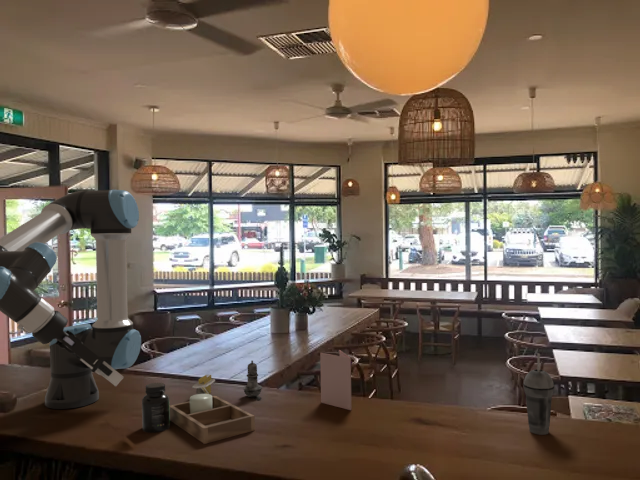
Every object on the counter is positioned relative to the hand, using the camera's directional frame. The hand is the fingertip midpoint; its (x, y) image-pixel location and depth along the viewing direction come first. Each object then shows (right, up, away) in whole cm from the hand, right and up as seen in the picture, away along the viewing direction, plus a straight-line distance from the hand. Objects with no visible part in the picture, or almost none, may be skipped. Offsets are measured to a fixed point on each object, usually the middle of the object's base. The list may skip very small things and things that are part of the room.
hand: (111, 376), depth 135 cm
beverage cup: (+107, -15, +2) cm, 108 cm away
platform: (+16, -16, +36) cm, 42 cm away
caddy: (+23, -16, +9) cm, 29 cm away
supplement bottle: (+9, -16, +7) cm, 20 cm away
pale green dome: (+20, -15, +13) cm, 28 cm away
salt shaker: (+31, -15, +32) cm, 48 cm away
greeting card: (+57, -15, +25) cm, 64 cm away
